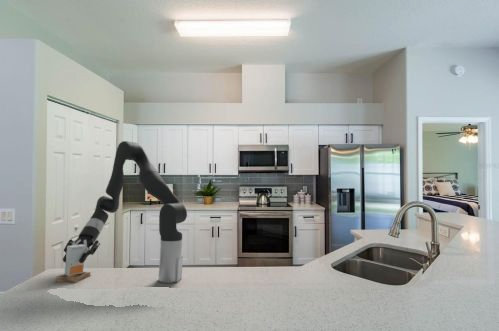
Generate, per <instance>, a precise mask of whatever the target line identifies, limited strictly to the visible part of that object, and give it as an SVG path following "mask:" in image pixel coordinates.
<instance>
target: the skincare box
mask: <svg viewBox="0 0 499 331" xmlns="http://www.w3.org/2000/svg"><path fill="white" fill-rule="evenodd" d="M85 248H86V245H83V244H79V245H72V246H67V254H66V253H65V254H66V263H65V264H64V265H65V266H64V274H65V275H67V276H70V275H75V274H80V273H83V272H84V270H85V269H84V266H85V261H84V262H83V263H80V262H79V260H80V258H81V256H82V254H83V253H84V251H85Z"/></svg>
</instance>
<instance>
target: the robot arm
mask: <svg viewBox="0 0 499 331" xmlns="http://www.w3.org/2000/svg"><path fill="white" fill-rule="evenodd" d="M126 161H134V162H135V164H136V165H137V167H138V168H139V172H138V179H139V182H140V184H141V185H142V187H143V188H144V190H145V191H146V192H147V193H148V194H150V195H151V196H152V197H154V198H155V199H157V200H158V201H160V202H161V204H162V206H161V208H160V210H159V216H158V219H159V220H158V222H159V224H158V228H159V230H158V231H159V235H160V246H159V248H160V249H159V263H158V264H159V265H158V282H160V283H164V284H165V283H167V284H168V283H169V284H170V283H178V282H179V281H180V280H181V279H182V277H183V258H184V257H183V255H182V247H183V233H182V232H181V231H178V228H177V225H178V224H180V223H183V222H185V221H186V220H187V216H188V212H187V208H186V206H185V205H184V204H183V203H182V202H181V201H180V200H179V198H178V197H177V196H176V195H175V193H173V192H172V190H171V188H170V187H169V186H168V185H167V183H166V182H165V181H164V179H163V177H162V176H161V174H160V173H159V171H158V170H157V169H156V168H155V166H154V165H153V163H152V162H151V161H150V159H149V157H148V155H147V153H146V152H145V150H144V148H143V146H142V145H141V144H140V143H137V142H133V141H128V140H127V141H126V140H123V141H121V142H120V143H119V144H118V146H117V147H116V151H115V155H114V162H113V166H112V171H111V175H110V179H109V181H108V183H107V186H106V189H105V193H106V194H107V195H108V196H106V195H103V196H100V197H99V198H98V199H97V202H96V204H95V205H96V206H95V209H94V212H93V214H92V215H91V217H90V219H89V220H88V221H87V222H86V224H85V225H84V227H83V228H82V229H81V230H80V232H79V235H78V238H76V239H75V240H74V239H71V238H70V239H69V240H68V242H67V243H66V245H65V247H64V249H63V252H64V253H65V255H63V257H62V261H63V263H65V264H66V254H67V246H72V245H79V244H83V245H86V248H85V251H84V253H83V254H82V256H81V258H80V260H79V262H80V263H83V262H84V263H85V261H86V259H88V256H90V255H91V256H93V255H94V254H95V253H96V251H97V249H98V248H99V247H100V245H101V244H100V242H99V239H98V237H99V235H100V234H101V232H102V230H103V228H104V226H105V225H106V223H107V220H109V214H108V213H110V214H114V213H116V212H117V211H118V209H119V208H120V197H121V193H122V190H123V189H124V188H123V187H124V186H125V179H126V178H125V175H124V165H125V163H126Z"/></svg>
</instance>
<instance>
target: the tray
mask: <svg viewBox="0 0 499 331" xmlns="http://www.w3.org/2000/svg"><path fill="white" fill-rule="evenodd" d="M91 273H92V272H91V271H83V273H80V274H75V275H70V276H67V275H65V273H64V274H61V275H58V276H56V277H55V283H70V284H76V283H77V284H78V283H79V282H81V281H83V280H85V279H87V278H89V277H91Z"/></svg>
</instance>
